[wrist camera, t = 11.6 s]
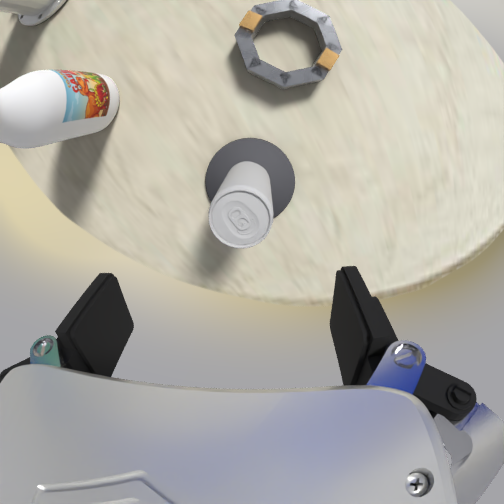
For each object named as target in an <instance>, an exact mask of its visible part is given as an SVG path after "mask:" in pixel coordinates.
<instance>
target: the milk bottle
mask: <svg viewBox="0 0 504 504" xmlns="http://www.w3.org/2000/svg"><path fill="white" fill-rule="evenodd" d="M119 97H120V96H119V91H118V88H117V86H116V84H115V82H114V81H113V80H112V79H111V78H110V77H108V76H106V75H102V74H97V73H89V72H80V71H68V70H39V71H34V72H30V73H27V74H25V75H22V76H20V77H19V78H17V79H15V80H14V81H12V82H11V83H9V84H8V85H6V86H5V87H3V88H1V89H0V143H4V144H7V145H10V146H13V147H16V148H35V147H40V146H44V145H48V144H52V143H56V142H59V141H63V140H67V139H71V138H75V137H79V136H84V135H88V134H92V133H96V132H99V131H101V130H103V129H104V128H105V127H107V126H108V125H109V124H110V122H111V121H112V120H113V118H114V117H115V115H116V113H117V110H118V107H119Z"/></svg>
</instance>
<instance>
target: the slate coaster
mask: <svg viewBox="0 0 504 504" xmlns="http://www.w3.org/2000/svg"><path fill="white" fill-rule="evenodd" d="M244 161H250V162H254V163H257V164H258V165H260V166H262V167H263V168H264V169H265V170H266V171H267V173H268V175H269V178H270V185H271V194H272V203H273V218H274V217H276V216H277V215H279V214H280V213H281V212H282V211H283V210H284V209H285V208H286V207H287V205H288V204H289V202H290V200H291V198H292V195H293V192H294V188H295V176H294V171H293V168H292V165H291V163H290V161H289V159H288V158H287V156H286V155H285V154H284V153H283V152H282V151H281V150H280V149H279V148H278V147H277V146H275V145H273V144H272V143H270V142H268V141H265V140H262V139H257V138H243V139H239V140H235V141H233V142H230V143H229V144H227V145H225V146H224V147H222V148H221V149H220V150H219V151H218V152H217V153H216V154H215V155H214V157H213V158H212V160H211V162H210V164H209V166H208V169H207V173H206V189H207V193H208V196H209V198H210V200H211V202H212V200H213V199H214V197H215V195H216V193H217V191H218V190H219V188H220V186H221V184H222V183H223V181H224V179H225V178H226V176H227V174H228V173H229V171H230V169H231V168H232V167H233V166H234V165H236V164H238V163H240V162H244Z"/></svg>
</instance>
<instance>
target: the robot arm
mask: <svg viewBox="0 0 504 504" xmlns="http://www.w3.org/2000/svg"><path fill="white" fill-rule="evenodd" d="M65 2H66V0H0V12H8V13H15V14H18V17H19V20H20V22H21V23H22V24H23V25H27V26H34V25H38V24H40V23H42V22H44V21H45V20H47V19H48V18H49V17H51V16H52V15H53V14H54V13H55V12H56V11H57V10H58V9H59V8H60V7H61V6H62V5H63V4H64V3H65ZM133 328H134V325H133V320H132V318H131V316H130V313H129V310H128V308H127V305H126V302H125V300H124V297H123V294H122V291H121V289H120V286H119V283H118V280H117V278H116V277H115V276H114V275H113V274H112V273H100V274H99V275H98V276H97V277H96V279H95V280H94V281H93V282H92V283H91V285H90V286H89V287H88V288H87V290H86V291H85V292H84V293H83V295H82V296H81V297H80V299H79V300H78V301H77V302H76V304H75V305H74V306H73V308H72V309H71V310H70V312H69V313H68V314H67V316H66V317H65V319H64V320H63V321H62V323H61V324H60V325H59V327H58V328H57V330H56V331H55V332H56V334H57V335H58V338H57V339H56V338H55V337H53V336H50V335H49V336H48V335H47V336H43V337H41V338H39V339H38V340H36V341H35V342H34V344H33V345H32V347H31V349H30V357H29V358H27V359H25V360H24V361H21V362H19V363H17V364H15V365H13V366H11V367H9V368H7V369H5V370H3V371H2V372H1V374H0V504H475V503H476V502H477V501H478V499H479V498H480V497H481V496H482V494H483V493H484V492H485V490H486V489H487V488H488V486H489V485H490V483H491V482H492V480H493V479H494V478H495V476H496V475H497V473H498V472H499V470H500V469H501V467H502V465H503V464H504V421H503V420H501V419H500V418H499V417H498V416H497V415H496V414H495V413H494V412H492V411H491V410H490V409H489V408H488V407H487V406H486V405H485V404H483V403H482V404H481V405H479V404H478V403H477V402H476V394H475V391H474V389H473V388H472V387H471V386H470V385H469V384H468V383H466V382H464V381H462V380H460V379H458V378H456V377H453V376H451V375H449V374H447V373H445V372H443V371H441V370H438V369H436V368H434V367H432V366H430V365H428V364H426V355H425V352H424V351H423V349H422V348H421V347H420V346H419V345H418V344H416V343H414V342H411V341H407V340H400V341H398V339H397V337H396V335H395V333H394V330H393V328H392V326H391V324H390V322H389V320H388V318H387V316H386V314H385V312H384V310H383V308H382V306H381V304H380V302H379V300H378V298H377V297H371V295H370V293H369V291H368V289H367V287H366V285H365V283H364V281H363V279H362V277H361V275H360V273H359V271H358V269H357V267H356V266H346V267H342V268H341V270H338V271H337V272H336V280H335V288H334V296H333V304H332V311H331V319H330V329H331V334H332V338H333V342H334V346H335V350H336V354H337V358H338V363H339V367H340V371H341V376H342V380H343V384H344V386H327V387H312V388H291V389H217V388H216V389H215V388H198V387H184V386H172V385H163V384H154V383H146V382H139V381H132V380H125V379H119V378H112V377H111V376H112V373H113V371H114V369H115V367H116V365H117V362H118V360H119V358H120V356H121V354H122V351H123V350H124V347H125V345H126V343H127V341H128V339H129V337H130V335H131V333H132V331H133ZM443 443H444V444H445V446H444V445H443ZM444 448H445V449H446V450H447V451H448V452H449V454H450V455H451V459H452V464H451V468H450V466H449V462H448V459H447V455H446V452H445V449H444ZM409 474H410V475H409Z"/></svg>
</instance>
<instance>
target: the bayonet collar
mask: <svg viewBox="0 0 504 504" xmlns="http://www.w3.org/2000/svg"><path fill="white" fill-rule="evenodd" d="M288 17H291V18H293V19H295V20H297V21H299V22H301V23H303V24H305V25H307V26H309V27H311V28H313V29H314V31H315V34H316V36H317V39H318V42H319V45H320V47H321V50H322V51H321V53H320V55H319V56H318V58H317V59H316V61H315V63H314V64H313V66H312V67H310V68H304V69H299V70H295V71H290V72H284V71H282V70H280V69H278V68H276V67H274V66H272V65H270V64H268V63H266V62H264V61H262V60H260V59H259V56H258V54H257V51H256V48H255V45H254V43H253V39H254V38H255V36H256V34H257V33H258V31H259V30H260V28H261V27H262V25H263V24H264V22H268V21H273V20H278V19H283V18H288ZM239 26H240V27H239V29H238V30H237V32H236V33H235V38H236V40H237V43H238V45H239V48H240V51H241V54H242V57H243V59H244V62H245V65H246V68H247V71H248V73H250V74H253V75H255V76H257V77H259V78H261V79H263V80H265V81H267V82H269V83H271V84H273V85H275V86H277V87H279V88H281V89H286V88H291V87H295V86H300V85H304V84H309V83H314V82H319V81H321V80H323V79H324V78H325V76H326V75H327V73H328V71H330V70H331V68H332V67H333V65H334V63H335V62H336V60H337V59H338V57H339V54H340V52H341V50H342V48H341V45H340V42H339V40H338V37H337V34H336V32H335V29H334V26H333V24H332V21H331V19H330V16H328V15H326V14H324V13H323V12H321V11H319V10H317V9H315V8H313V7H311V6H309V5H307V4H305V3H303V2H301V1H299V0H279V1H274V2H269V3H264V4H259V5H255V6H254V7H253V8H252V10H251V11H248V12H247V14H246V15H245V17H244V18H243V20H242V21H241V23H240V24H239Z"/></svg>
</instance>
